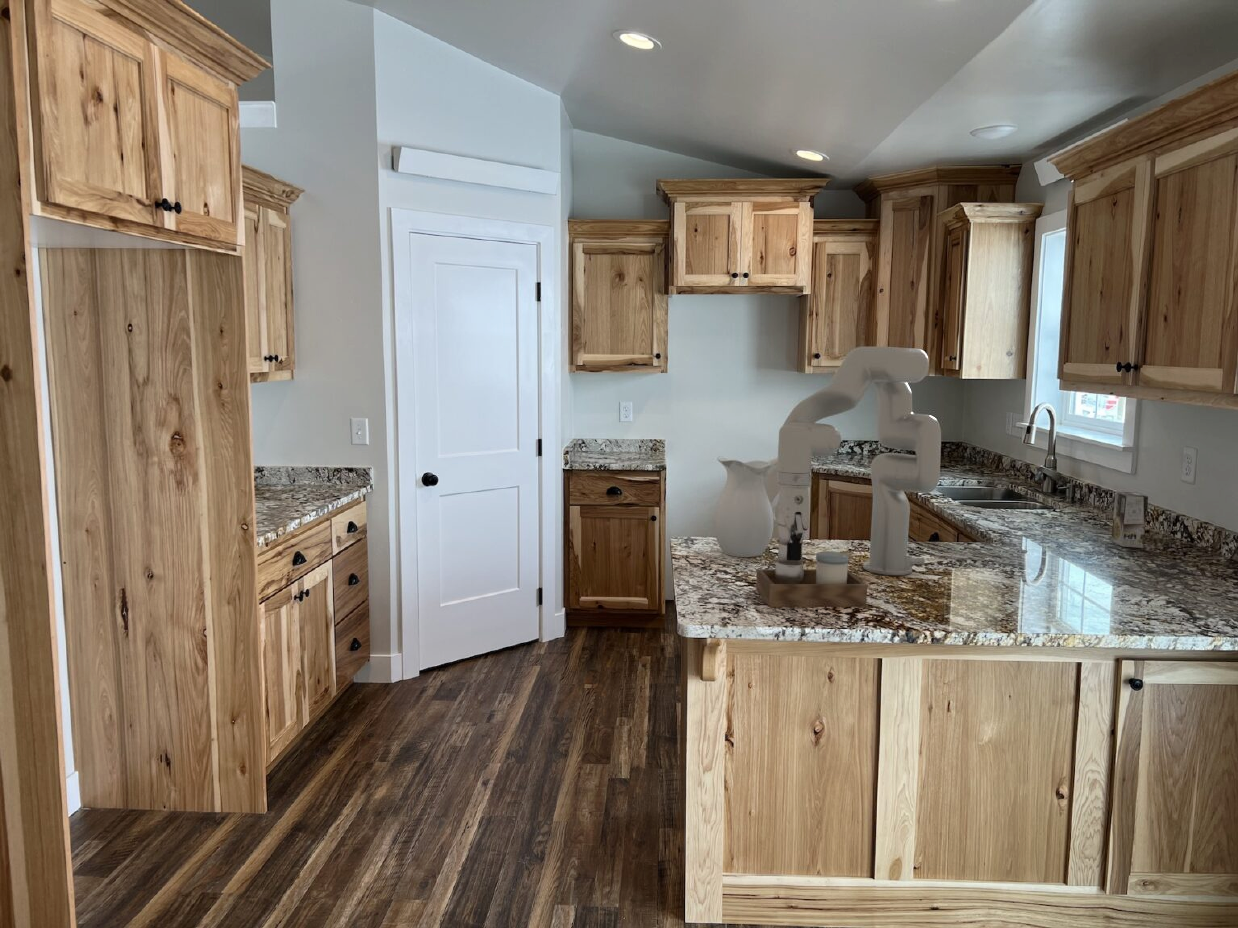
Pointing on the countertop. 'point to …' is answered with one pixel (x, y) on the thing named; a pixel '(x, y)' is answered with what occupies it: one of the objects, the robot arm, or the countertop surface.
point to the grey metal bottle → (786, 568)
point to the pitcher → (745, 509)
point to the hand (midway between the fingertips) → (790, 556)
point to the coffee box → (1129, 519)
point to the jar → (831, 567)
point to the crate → (810, 591)
